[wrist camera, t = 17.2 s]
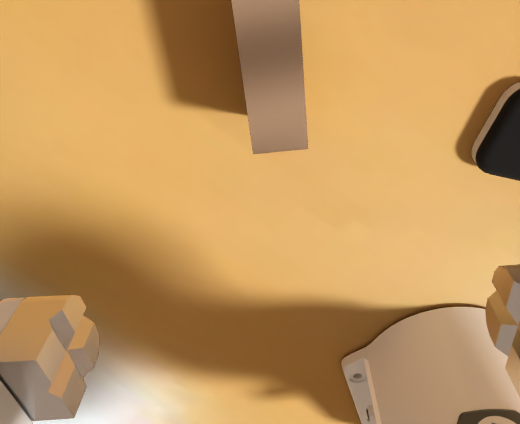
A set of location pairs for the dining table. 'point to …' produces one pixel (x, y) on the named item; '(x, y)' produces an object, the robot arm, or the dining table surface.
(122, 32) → the dining table surface
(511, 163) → the remote control
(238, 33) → the blocks
